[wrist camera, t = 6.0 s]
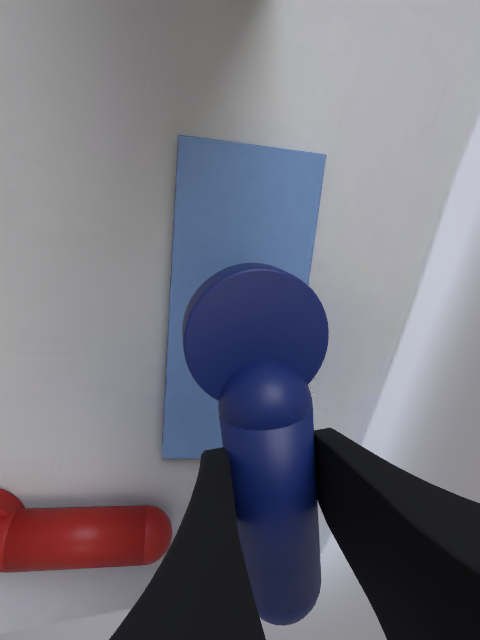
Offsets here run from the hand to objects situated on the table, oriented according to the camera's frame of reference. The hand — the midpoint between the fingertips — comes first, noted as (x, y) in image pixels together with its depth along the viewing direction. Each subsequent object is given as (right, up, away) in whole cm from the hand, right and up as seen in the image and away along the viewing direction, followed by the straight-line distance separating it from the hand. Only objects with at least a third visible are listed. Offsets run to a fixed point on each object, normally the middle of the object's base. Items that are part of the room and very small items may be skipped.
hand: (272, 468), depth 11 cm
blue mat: (-1, +4, +7) cm, 9 cm away
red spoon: (-10, -6, +9) cm, 14 cm away
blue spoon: (0, 0, +1) cm, 1 cm away
